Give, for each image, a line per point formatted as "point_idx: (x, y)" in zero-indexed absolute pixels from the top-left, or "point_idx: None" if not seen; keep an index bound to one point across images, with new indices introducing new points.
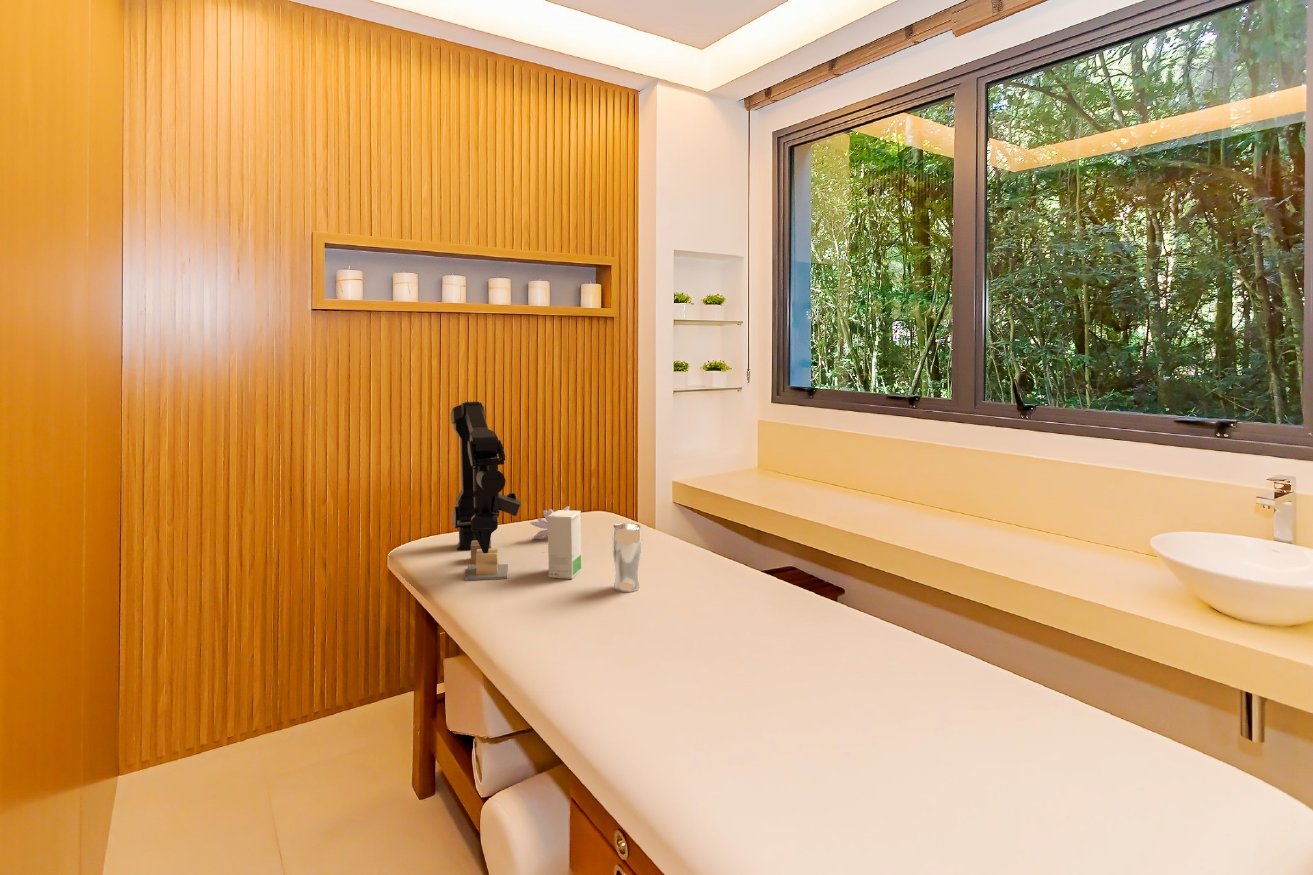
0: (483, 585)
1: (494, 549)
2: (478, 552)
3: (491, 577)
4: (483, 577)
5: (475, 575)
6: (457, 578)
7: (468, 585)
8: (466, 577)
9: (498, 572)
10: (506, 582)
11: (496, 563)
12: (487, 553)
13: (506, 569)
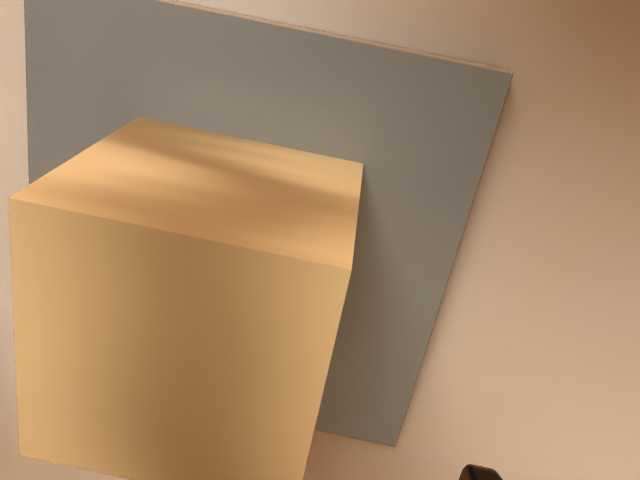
0: (602, 324)
1: (72, 254)
2: (187, 470)
3: (458, 236)
4: (438, 309)
5: (344, 360)
6: (308, 464)
7: (533, 427)
8: (375, 431)
9: (327, 142)
10: (634, 98)
11: (355, 212)
12: (269, 382)
13: (242, 31)
